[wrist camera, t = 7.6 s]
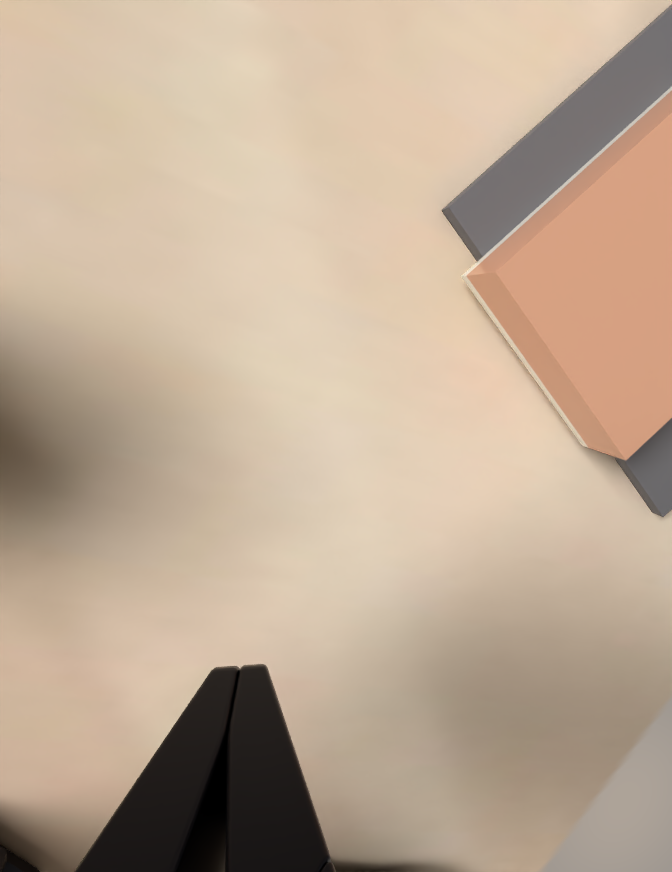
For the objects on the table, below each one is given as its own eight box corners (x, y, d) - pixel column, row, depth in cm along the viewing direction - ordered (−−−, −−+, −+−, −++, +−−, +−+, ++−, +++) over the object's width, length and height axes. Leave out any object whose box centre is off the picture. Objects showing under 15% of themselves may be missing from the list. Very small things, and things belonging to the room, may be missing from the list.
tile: (626, 460, 21) (834, 265, 21) (495, 272, 18) (734, 56, 19) (582, 445, 23) (770, 269, 23) (461, 276, 20) (674, 84, 21)
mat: (652, 512, 25) (663, 517, 24) (441, 210, 20) (448, 207, 20) (841, 334, 25) (855, 335, 25) (675, 0, 21) (689, -9, 20)
